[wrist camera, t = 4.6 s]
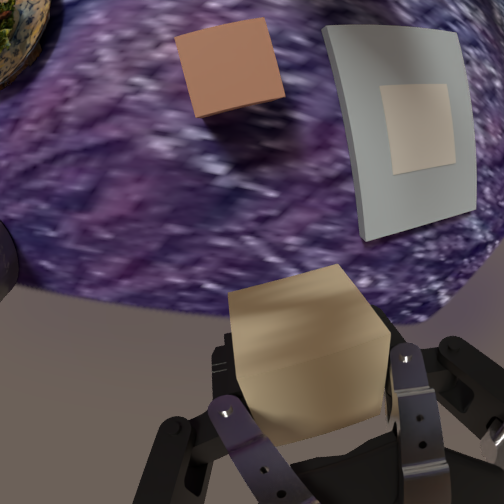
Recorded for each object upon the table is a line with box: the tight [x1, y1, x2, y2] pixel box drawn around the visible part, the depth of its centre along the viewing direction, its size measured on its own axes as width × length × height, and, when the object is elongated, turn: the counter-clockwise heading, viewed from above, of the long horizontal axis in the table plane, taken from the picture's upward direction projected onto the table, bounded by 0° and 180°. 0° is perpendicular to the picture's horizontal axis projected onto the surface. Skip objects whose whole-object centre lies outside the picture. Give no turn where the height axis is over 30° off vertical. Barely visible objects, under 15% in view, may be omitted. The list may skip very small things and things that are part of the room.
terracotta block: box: [174, 17, 285, 118], centre depth 16 cm, size 5×5×5 cm
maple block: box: [228, 264, 391, 447], centre depth 12 cm, size 5×5×5 cm
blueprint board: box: [321, 25, 477, 242], centre depth 20 cm, size 13×17×1 cm
